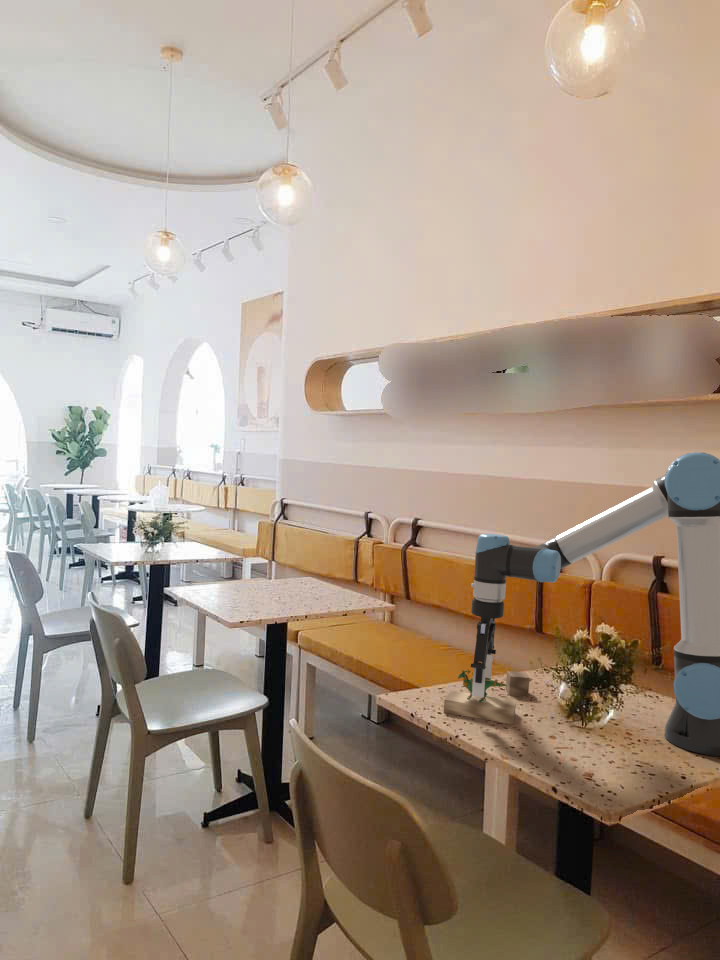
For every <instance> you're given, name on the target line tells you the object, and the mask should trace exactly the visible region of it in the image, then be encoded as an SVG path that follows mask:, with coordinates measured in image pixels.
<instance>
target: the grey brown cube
mask: <svg viewBox="0 0 720 960" xmlns="http://www.w3.org/2000/svg"><path fill="white" fill-rule="evenodd" d="M505 684H506V685H507V686H505V691H506V693H507V694H508V696H515V697H516V696H517V697H529V691H530V690H529V689H530V677H529V675H528V674H527V672H526V671H514V670H513V671H512V670H507V671H506V680H505Z"/></svg>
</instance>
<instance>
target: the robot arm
mask: <svg viewBox="0 0 720 960" xmlns="http://www.w3.org/2000/svg"><path fill="white" fill-rule="evenodd" d="M665 518H668V519H669V520H670V521H671V522H672V524H674V525H675V526H676V541H677V542H676V545H677V547H676V548H677V565H678V566H677V567H678V569H677V570H678V589H679V590H678V592H679V593H678V594H679V612H680V613H679V614H680V615H679V616H680V617H679V618H680V640H679V641H678V642H677V643H676V644H675V645H674V646H673V661H674V664H673V665H674V680H673V683H672V685H673V686H672V687H673V688H672V689H673V693H674V696H675V704H674V706H673V708H672V710H671V712H670V714H669V717H668V719H667V721H666V723H665V727H664V738H665V739H666V740H667V741H668V742H669V743H671V744H672V745H675V746H677V747H679V748H680V749H681V748H682V749H683V750H686V751H690V752H693V753H696V754H697V753H698V754H701V755H706V756H707V755H708V756H713V757H720V459H719V458H718V457H716V456H714V455H713V454H710V453H706V452H699V451H698V452H697V451H695V452H689V453H685V454H683V455H680V456H678V457H677V458H676V459H674V460H673V461H672V462H671V464H670V465H669V466H668V468H667V470H666V471H665V474H663V475H662V476H660V477H658V478H656V479H654V481H653V483H652V485H651V487H649V488H647V489H645V490H643V491H641V492H638V494H636V495H633V496H632V497H629V498H628V499H626V500H624V501H622V502H619V503H618V504H616V505H615V506H612V507H610V508H608V509H606V510H604V511H603V512H600V513H598V514H597V515H594V516H593V517H591V518H589V519H587V520H585V521H583V522H582V523H580V524H577V525H575V526H573V527H572V528H570V529H568V530H566V531H564V532H562V533H560V534H558V535H557V536H554V537H552V538H551V539H549V540H547V541H544V542H543V543H541V544H539V545H535V546H522V545H513V544H511V543H510V538H509V537H508V536H507V535H504V534H497V533H482V534H481V533H480V535H479V536H478V537H477V543H476V548H475V549H476V550H475V551H474V553H475V560H474V578H473V582H472V583H471V584H470V586H471V588H473V590H472V591H473V592H472V596H473V597H474V598H473V599H472V600H471V601H472V602H471V614H472V615H474V616H475V617H480V621H478V623H477V625H476V631H477V632H476V638H475V639H476V641H475V648H474V656H473V662H472V663H470V668H472V669H473V672H472V673H473V674H472V677H473V685H472V696H478V697H484V689H485V677H486V678H492V668H493V655H496V653H497V650H496V649H495V634H496V633H495V631H496V623H495V620H496V619H501V618H503V617H504V613H505V612H504V611H505V610H504V609H505V602H504V600H505V599H506V588H507V578H515V579H521V580H527V581H528V580H529V581H534V582H539V583H555V582H557V581H558V579H559V577H560V575H561V570H563V569H564V568H566V567H568V566H570V565H572V564H574V563H575V562H577V561H580V560H582V559H584V558H586V557H588V556H590V555H592V554H594V553H596V552H598V551H600V550H603V549H604V548H606V547H608V546H611V545H612V544H615V543H616V542H619V541H620V540H622V539H624V538H626V537H629V536H631V535H632V534H634V533H636V532H639V531H640V530H643V529H645V528H647V527H649V526H652V525H653V524H655V523H657V522H659V521H661V520H663V519H665ZM489 680H492V679H489Z"/></svg>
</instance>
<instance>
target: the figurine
mask: <svg viewBox="0 0 720 960" xmlns="http://www.w3.org/2000/svg"><path fill="white" fill-rule="evenodd" d="M470 673H472V675H473V672H471V670H470V668H467V669H465V670H463V669H462V670H461V672H460V673H459V675H458V676H457V679H458V680H459V679H462V678H463V679H462V683H461V685H460V687H461V688H466V689H467V690H468V691H469V693H471V694H470V696H468V697H469V698H467V699H470V698H471V697H472V685H473V676H472V677H471V678H470V679H469V676H468V674H470ZM489 679H491V680H489ZM492 679H493V677H491V678H486V677H485V689H484V697H482V698H481V700H479V702H482V701H483V702H485V701H484V699H485V697H486V696H488V693H487V690H488V689H489V688H491V687H494V688H495V687H506V686H507V685H506V683H504V682H503V681H500V682H499V680H498V679H497V678H496V679H494V680H492ZM485 700H486V699H485Z"/></svg>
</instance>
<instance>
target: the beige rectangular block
mask: <svg viewBox="0 0 720 960" xmlns="http://www.w3.org/2000/svg"><path fill="white" fill-rule="evenodd" d="M470 694H471V692H464V691H458V690H453V689H452V690H449V691H448V694H447V695H446V696H445V698H444V701H443V702H444V703H443V713H447V714H450V715H457V716H463V717H468V718H475V719H481V720H487V721H492V722H499V723H503V724H508V725H513V723H514V719H515V716H516V710H517V709H516V707H517V700H512V699H506V698H501V697H496V696H494V697H493V696H489V695H487V696H486V697H485V699H486V700H485V699H484V701H485V702H483V701H482V702H479V700H481V698H482V697H478V696H472V697H471V698H470V699H467V698H469V697H468V696H470Z"/></svg>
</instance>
